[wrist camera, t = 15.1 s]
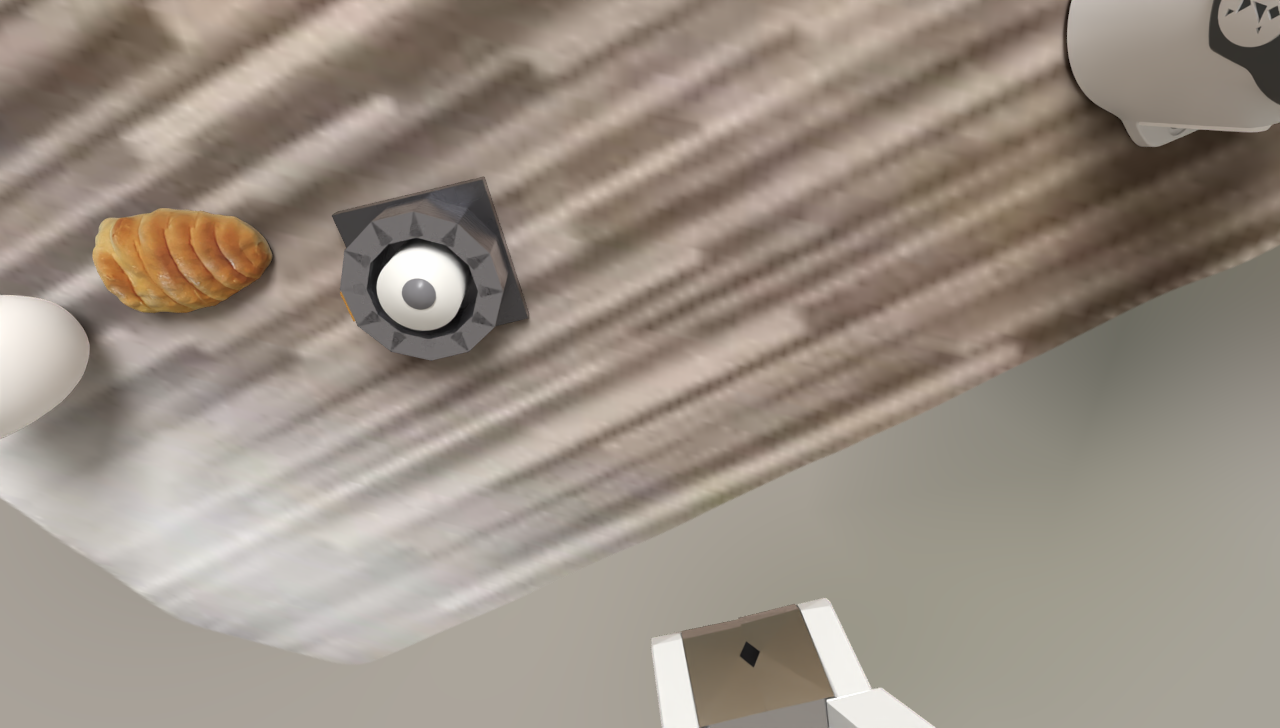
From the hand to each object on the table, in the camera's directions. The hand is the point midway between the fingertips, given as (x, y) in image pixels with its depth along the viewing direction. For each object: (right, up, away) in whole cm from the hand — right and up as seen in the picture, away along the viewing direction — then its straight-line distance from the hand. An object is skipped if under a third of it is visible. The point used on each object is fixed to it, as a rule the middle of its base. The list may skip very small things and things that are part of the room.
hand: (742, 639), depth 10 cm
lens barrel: (-16, +11, +32) cm, 37 cm away
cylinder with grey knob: (-16, +11, +31) cm, 37 cm away
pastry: (-32, +12, +30) cm, 46 cm away
